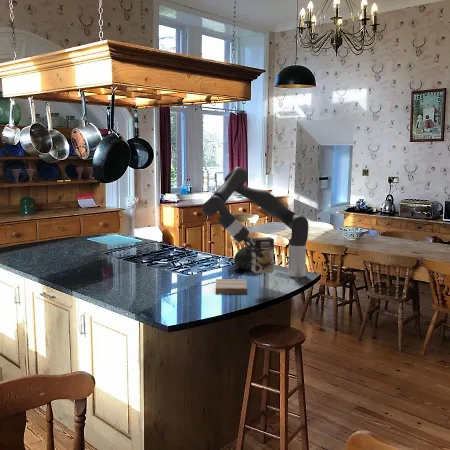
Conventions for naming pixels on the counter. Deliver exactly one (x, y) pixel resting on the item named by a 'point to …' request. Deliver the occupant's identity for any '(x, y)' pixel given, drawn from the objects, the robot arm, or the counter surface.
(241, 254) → the squash
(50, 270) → the counter surface
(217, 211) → the robot arm
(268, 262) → the coffee box
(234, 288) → the wooden board
